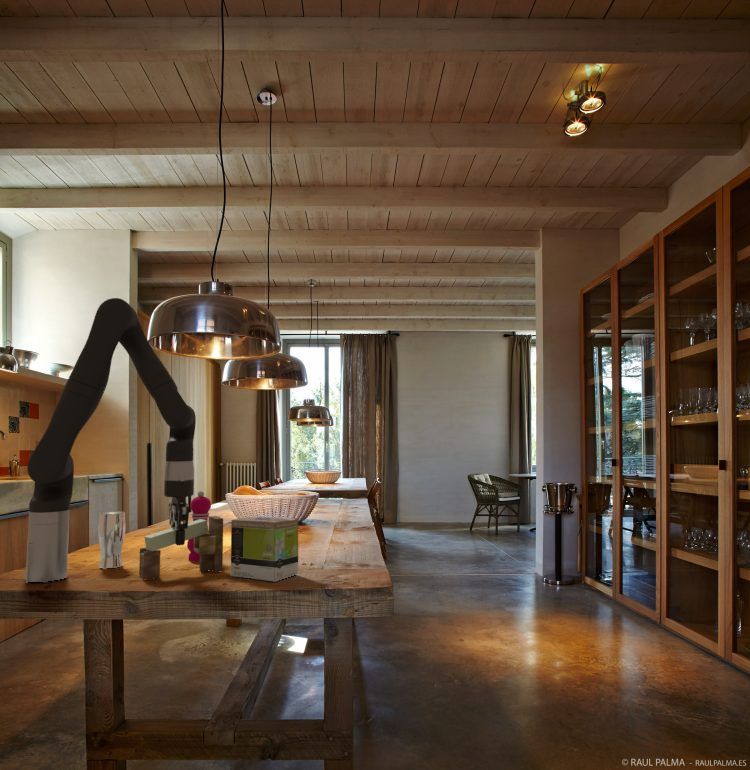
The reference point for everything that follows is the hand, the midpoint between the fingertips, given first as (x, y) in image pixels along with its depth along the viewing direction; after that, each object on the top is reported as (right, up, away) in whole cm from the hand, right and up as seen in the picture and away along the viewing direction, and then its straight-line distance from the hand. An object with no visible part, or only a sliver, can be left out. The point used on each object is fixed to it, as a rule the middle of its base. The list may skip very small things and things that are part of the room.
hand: (178, 543), depth 162 cm
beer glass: (-22, -9, +9) cm, 25 cm away
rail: (0, +1, 0) cm, 1 cm away
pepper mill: (0, -10, +19) cm, 21 cm away
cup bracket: (+7, -8, +3) cm, 11 cm away
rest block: (-6, -8, -4) cm, 11 cm away
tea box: (+23, -8, -4) cm, 25 cm away
